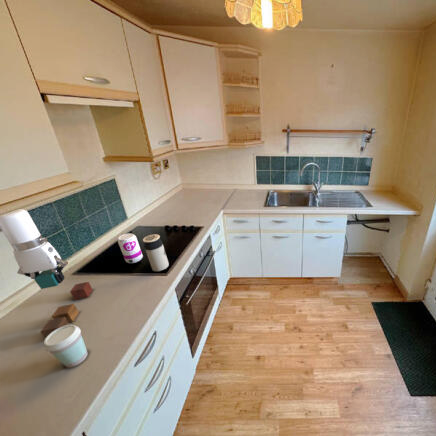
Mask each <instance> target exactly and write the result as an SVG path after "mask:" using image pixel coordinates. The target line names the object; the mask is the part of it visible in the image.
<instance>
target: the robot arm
mask: <svg viewBox="0 0 436 436" xmlns="http://www.w3.org/2000/svg"><path fill="white" fill-rule="evenodd" d="M17 209H18V210H15V211H12V212H10V213H7V214H4V215H1V216H0V233H3V234H4V236H5V238H6V239H7V241H8V243H10V245H11V247H12V249H13V257H14V259H15V262H16V263H17V265H18V270H17V272H16V273H17V274H18V275H22V276H24V277H28V278H30V279H31V280H34V281H35V283H36V284H37V285H38V283H37V282H36V280H35V278H36V277H37V276H38V275H39V274H40V273H41V272H42V271H45V270H51V271H52V272H53V273H54V274H55V275H54V277H55V279H56V280H57V282H58V283H59V284H62V282H64V280H65V275H64V273H63V272H62V271H63V270H64V269H65V267H66V266H67V265H68V264H69V262H68V261H66V260H64V259H62V257H61V255H60V254H59V252H58V251H57V250H56V248H55V247H54V246H53V245H52V244H51V243H50V242H49V241H48V238H47V237H43V235H42V234H41V233H40V230H39V228H38V227H37V225H36V224H35V222H34V221H33V218H32V216H31V214H30V213H29V211H27V210H26V209H23V208H17ZM56 269H57V270H56ZM38 287H39V288H40V286H39V285H38Z"/></svg>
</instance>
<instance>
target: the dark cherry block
mask: <svg viewBox="0 0 436 436" xmlns="http://www.w3.org/2000/svg"><path fill="white" fill-rule="evenodd" d="M92 292H93V287H92V286H91V283H90V282H89V281H85V282H80V283H75V284H74V285H73V286H72V288H71V290H70V291H69V293H70V295H71V296H72V298H73V300H74V301H77V300H82V299H87V298H89V297H90V295H91V293H92Z"/></svg>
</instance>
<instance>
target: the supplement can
mask: <svg viewBox="0 0 436 436" xmlns="http://www.w3.org/2000/svg"><path fill="white" fill-rule="evenodd" d="M117 243H118V246H119V248H120V251H121V254H122V255H123V259H124V261H125V262H126V263H128V264H135V263H138V262H140V261H141V260H143V257H144V255H143V253H142V249H141V247H140V244H139V241H138V238H137V236H136V235H135V234H134V233H132V232H131V233H129V232H128V233H124V234H121V235H120V236H118V238H117Z"/></svg>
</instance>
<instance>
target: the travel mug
mask: <svg viewBox="0 0 436 436" xmlns="http://www.w3.org/2000/svg"><path fill="white" fill-rule="evenodd" d="M160 237H161V235H160V234H157V233H156V234H155V233H154V234H149V235H147V236H145V237H144V238H142V242H144V243H143V247H144V250H145V253H146V256H147V258H148V261H149V264H150V268H151V269H152V271H153V272H161V271H163V270H166V269H167V268H168V267H169V266H170V265H169V264H170V263H169V260H168V257H167V253H166V250H165V247H164V243H163V240H162V239H160Z"/></svg>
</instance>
